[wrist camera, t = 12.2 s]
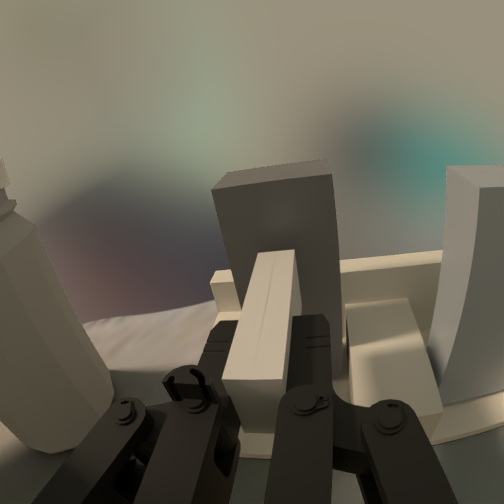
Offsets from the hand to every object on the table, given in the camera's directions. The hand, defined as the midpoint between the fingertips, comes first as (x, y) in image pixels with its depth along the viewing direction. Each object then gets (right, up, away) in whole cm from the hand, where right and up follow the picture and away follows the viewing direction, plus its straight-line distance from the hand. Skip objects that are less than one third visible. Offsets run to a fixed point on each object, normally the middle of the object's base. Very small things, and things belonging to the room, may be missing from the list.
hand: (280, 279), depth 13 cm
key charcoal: (+2, -6, +6) cm, 8 cm away
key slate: (+11, -6, +1) cm, 13 cm away
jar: (-15, -11, +5) cm, 20 cm away
